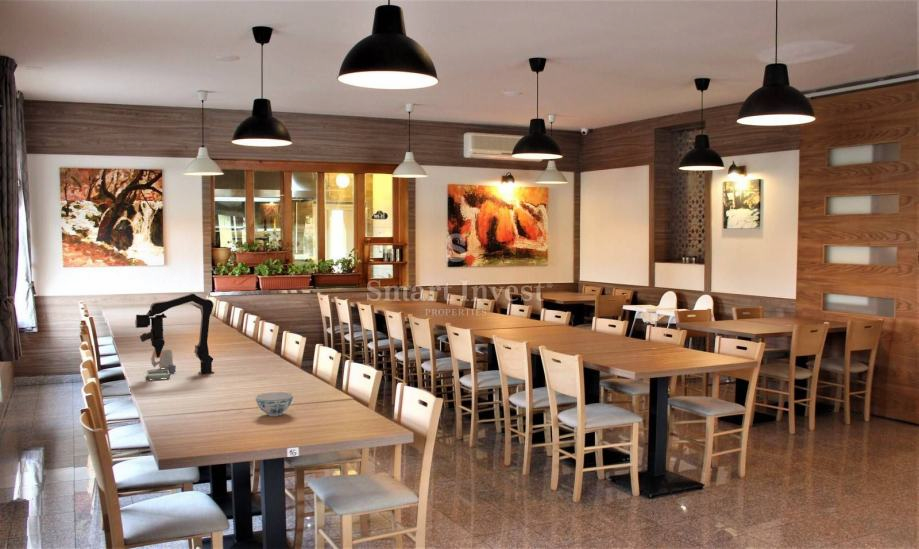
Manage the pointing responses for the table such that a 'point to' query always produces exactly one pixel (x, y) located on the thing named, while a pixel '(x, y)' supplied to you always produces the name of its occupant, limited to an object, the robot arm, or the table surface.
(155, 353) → the ball
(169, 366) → the cylinder with square socket
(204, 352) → the robot arm
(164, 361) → the mug
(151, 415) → the table surface
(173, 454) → the table surface
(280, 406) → the chinaware
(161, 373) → the tray
